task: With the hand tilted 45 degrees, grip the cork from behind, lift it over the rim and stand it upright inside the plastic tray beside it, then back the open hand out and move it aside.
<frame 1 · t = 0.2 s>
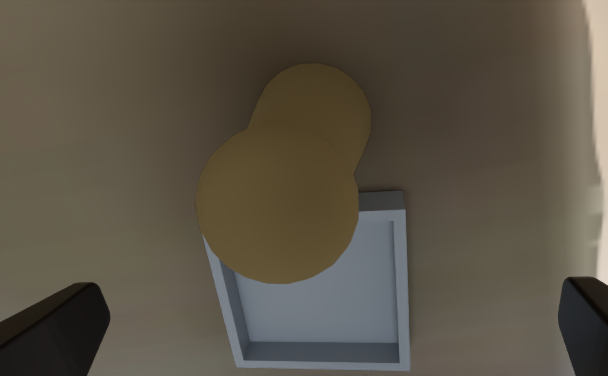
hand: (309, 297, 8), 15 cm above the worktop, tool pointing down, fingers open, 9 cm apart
tray: (314, 275, 26), on the worktop
cork: (313, 121, 22), on the worktop
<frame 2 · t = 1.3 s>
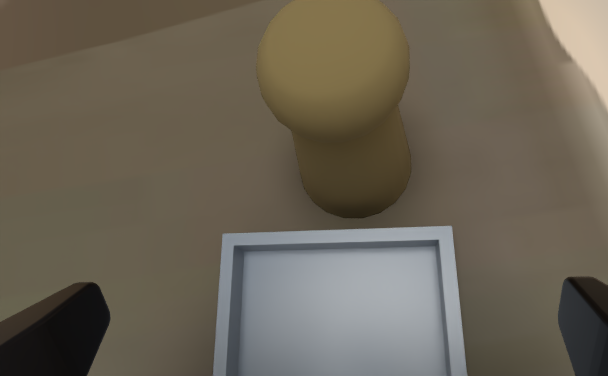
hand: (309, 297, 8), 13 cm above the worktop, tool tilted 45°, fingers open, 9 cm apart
tray: (338, 351, 20), on the worktop
cork: (354, 166, 24), on the worktop
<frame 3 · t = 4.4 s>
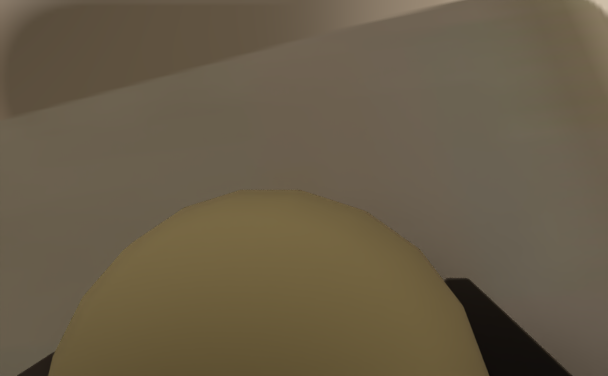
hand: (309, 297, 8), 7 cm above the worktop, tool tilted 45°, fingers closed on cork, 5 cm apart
cork: (346, 358, 14), on the worktop, touching gripper
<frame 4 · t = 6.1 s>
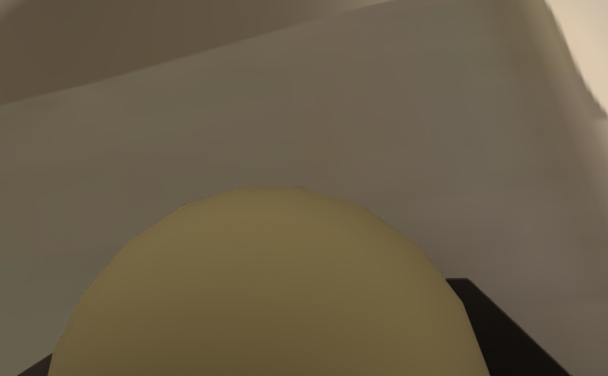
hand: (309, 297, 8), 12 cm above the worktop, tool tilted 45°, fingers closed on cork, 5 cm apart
cork: (346, 356, 14), point 5 cm above the worktop, touching gripper
when the fingers open (9 cm above the worktop, at t = 8.0 s): cork stays where it is, resting on tray.
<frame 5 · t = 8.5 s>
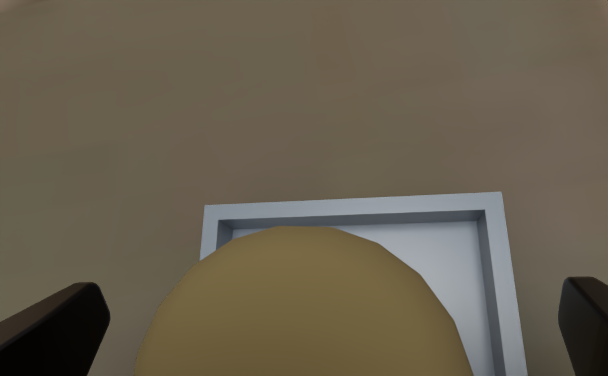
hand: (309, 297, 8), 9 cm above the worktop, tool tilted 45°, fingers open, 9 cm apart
tray: (352, 354, 16), on the worktop
cork: (352, 358, 16), resting on tray
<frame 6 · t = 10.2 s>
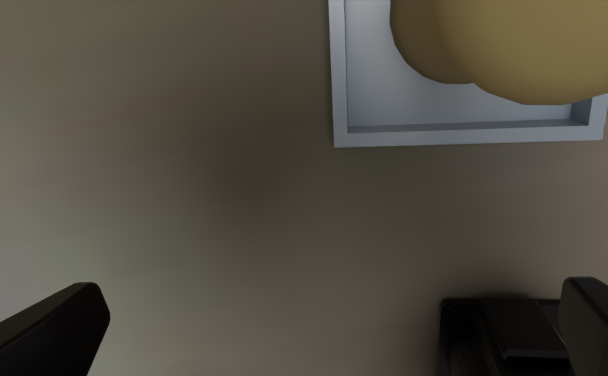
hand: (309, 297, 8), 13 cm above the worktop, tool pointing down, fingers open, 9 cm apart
tray: (458, 8, 18), on the worktop
cork: (461, 10, 18), resting on tray
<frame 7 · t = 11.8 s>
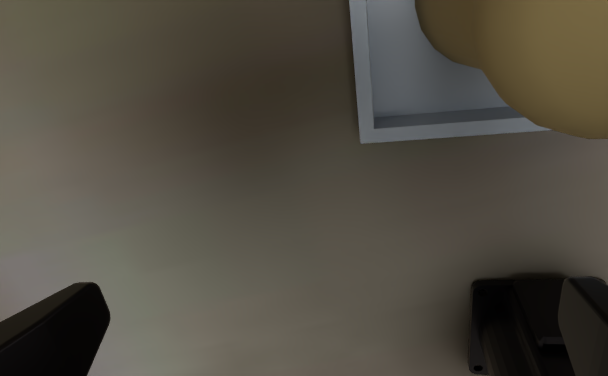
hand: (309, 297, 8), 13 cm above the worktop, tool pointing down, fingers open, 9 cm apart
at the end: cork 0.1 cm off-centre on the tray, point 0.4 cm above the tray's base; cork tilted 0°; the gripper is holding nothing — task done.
